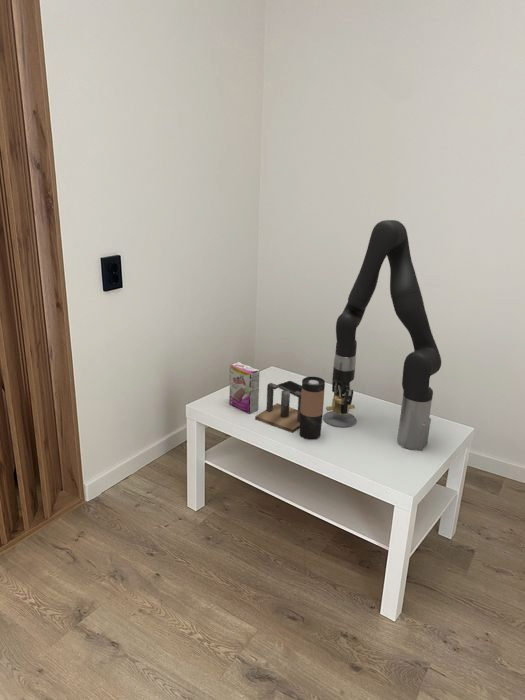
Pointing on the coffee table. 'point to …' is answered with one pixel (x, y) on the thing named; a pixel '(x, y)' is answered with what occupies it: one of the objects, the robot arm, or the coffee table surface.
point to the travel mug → (311, 407)
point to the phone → (290, 387)
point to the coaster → (339, 419)
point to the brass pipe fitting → (338, 405)
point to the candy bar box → (244, 387)
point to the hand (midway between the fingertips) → (340, 409)
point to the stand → (281, 411)
